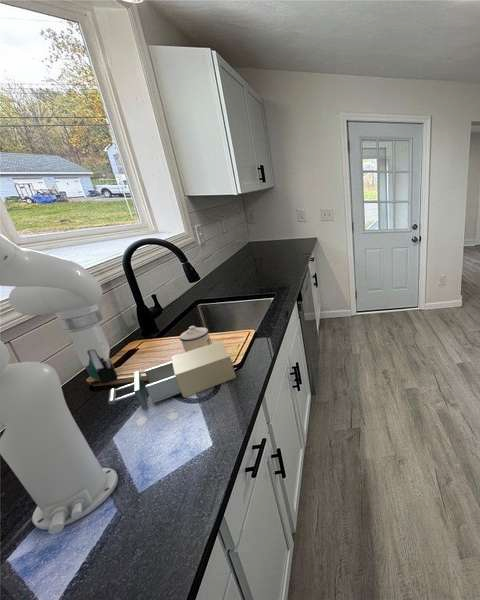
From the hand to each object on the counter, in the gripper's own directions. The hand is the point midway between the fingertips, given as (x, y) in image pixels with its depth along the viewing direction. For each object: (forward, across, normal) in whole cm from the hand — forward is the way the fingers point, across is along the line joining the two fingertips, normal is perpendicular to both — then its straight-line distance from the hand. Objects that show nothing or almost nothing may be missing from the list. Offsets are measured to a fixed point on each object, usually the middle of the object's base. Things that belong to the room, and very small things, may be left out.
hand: (110, 380), depth 86 cm
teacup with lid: (+10, -21, +22) cm, 32 cm away
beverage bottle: (+10, -27, -6) cm, 29 cm away
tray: (+9, -1, +8) cm, 12 cm away
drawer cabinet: (+10, -1, +21) cm, 24 cm away
